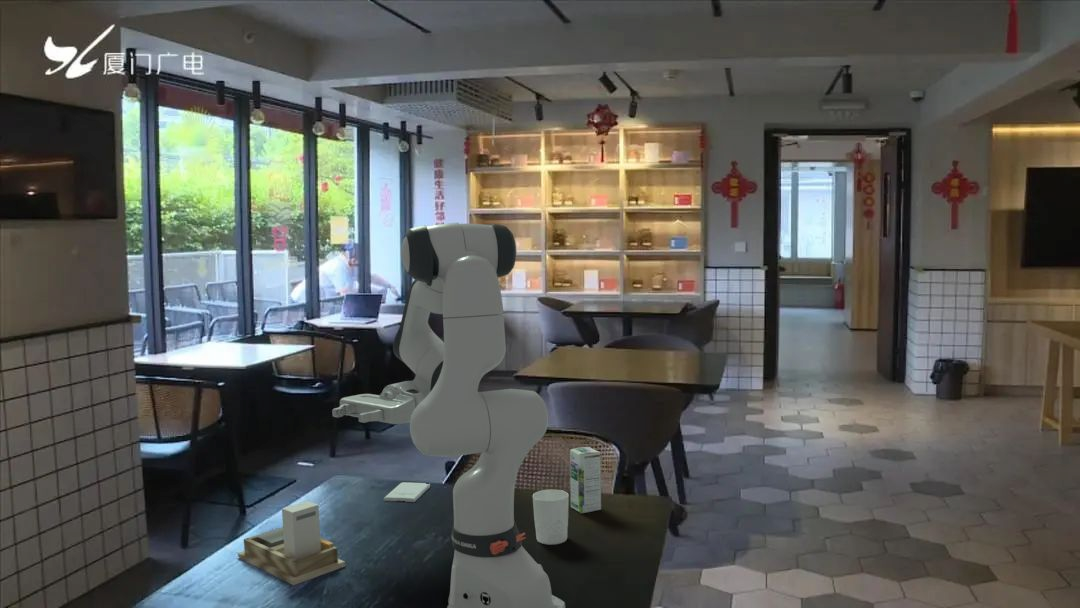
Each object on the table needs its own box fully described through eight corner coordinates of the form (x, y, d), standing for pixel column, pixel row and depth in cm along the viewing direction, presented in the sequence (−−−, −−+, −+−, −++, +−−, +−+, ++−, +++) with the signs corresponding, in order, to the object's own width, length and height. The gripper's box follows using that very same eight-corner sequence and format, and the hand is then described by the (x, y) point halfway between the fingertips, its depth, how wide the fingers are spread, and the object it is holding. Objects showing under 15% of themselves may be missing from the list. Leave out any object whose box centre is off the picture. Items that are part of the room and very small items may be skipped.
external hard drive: (430, 489, 230) (414, 504, 218) (401, 488, 232) (383, 502, 219) (430, 483, 230) (414, 497, 218) (400, 482, 231) (383, 496, 219)
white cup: (527, 542, 188) (526, 498, 187) (544, 530, 195) (542, 487, 194) (559, 548, 184) (558, 502, 183) (575, 535, 191) (574, 491, 190)
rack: (345, 566, 178) (344, 544, 177) (293, 585, 169) (291, 562, 169) (288, 541, 193) (287, 521, 192) (238, 557, 184) (236, 536, 184)
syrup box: (569, 507, 210) (568, 448, 209) (591, 503, 213) (589, 445, 211) (580, 514, 205) (579, 454, 204) (602, 510, 208) (601, 451, 206)
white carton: (321, 561, 178) (318, 504, 177) (295, 570, 174) (292, 512, 173) (310, 556, 181) (307, 500, 180) (285, 565, 177) (281, 508, 176)
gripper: (369, 384, 200) (318, 396, 190) (426, 393, 186) (374, 406, 176) (371, 411, 201) (320, 424, 191) (428, 422, 187) (377, 436, 177)
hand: (347, 416), depth 183 cm, fingers open, 8 cm apart
